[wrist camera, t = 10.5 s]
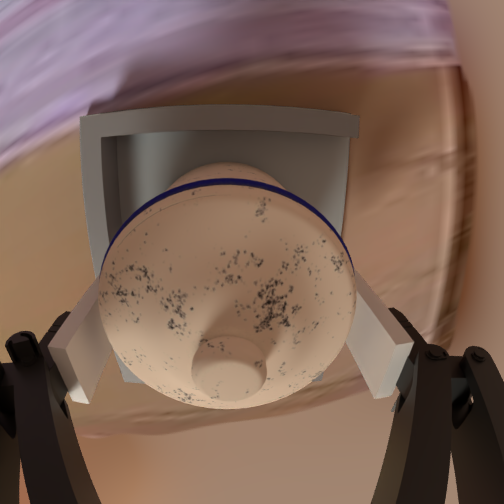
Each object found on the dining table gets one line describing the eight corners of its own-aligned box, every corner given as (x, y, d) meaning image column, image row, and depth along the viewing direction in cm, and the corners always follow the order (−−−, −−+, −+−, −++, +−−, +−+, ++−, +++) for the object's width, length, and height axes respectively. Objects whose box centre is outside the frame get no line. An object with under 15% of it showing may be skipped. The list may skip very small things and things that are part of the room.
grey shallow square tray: (85, 117, 15) (60, 115, 12) (346, 114, 16) (368, 111, 13) (119, 355, 22) (109, 382, 19) (317, 355, 23) (327, 382, 20)
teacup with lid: (135, 174, 16) (8, 249, 5) (292, 146, 16) (410, 176, 6) (182, 343, 21) (164, 492, 10) (308, 322, 21) (365, 464, 10)
